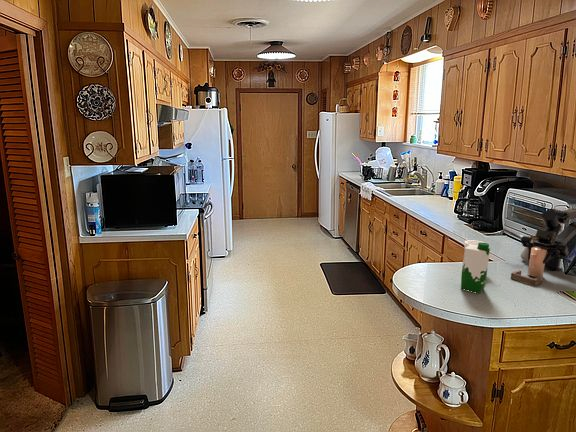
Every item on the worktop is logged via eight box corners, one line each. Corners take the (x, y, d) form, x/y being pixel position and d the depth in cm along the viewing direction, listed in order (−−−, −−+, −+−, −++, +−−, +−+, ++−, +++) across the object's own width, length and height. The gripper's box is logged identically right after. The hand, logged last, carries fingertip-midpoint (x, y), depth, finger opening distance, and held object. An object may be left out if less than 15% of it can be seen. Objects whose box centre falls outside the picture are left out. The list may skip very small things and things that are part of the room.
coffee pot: (546, 261, 215) (551, 232, 211) (546, 268, 205) (551, 237, 201) (498, 253, 225) (502, 225, 222) (496, 259, 215) (500, 230, 212)
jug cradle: (518, 274, 195) (519, 269, 195) (542, 281, 188) (542, 276, 187) (510, 278, 191) (511, 273, 190) (534, 285, 183) (535, 280, 183)
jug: (531, 271, 198) (535, 246, 195) (545, 275, 194) (549, 249, 191) (522, 275, 193) (526, 249, 190) (536, 279, 189) (540, 253, 186)
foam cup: (470, 274, 195) (473, 246, 192) (457, 267, 204) (460, 240, 201) (488, 272, 198) (491, 245, 195) (474, 265, 206) (477, 239, 203)
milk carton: (480, 295, 172) (486, 247, 168) (457, 289, 178) (462, 243, 173) (486, 289, 179) (493, 242, 174) (464, 283, 185) (469, 238, 180)
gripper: (525, 218, 198) (510, 246, 194) (570, 227, 184) (555, 257, 180) (530, 232, 205) (516, 259, 201) (574, 242, 190) (560, 271, 186)
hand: (535, 261), depth 192 cm, fingers closed on jug, 6 cm apart
